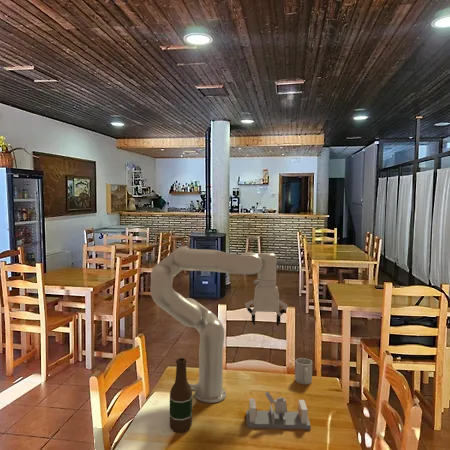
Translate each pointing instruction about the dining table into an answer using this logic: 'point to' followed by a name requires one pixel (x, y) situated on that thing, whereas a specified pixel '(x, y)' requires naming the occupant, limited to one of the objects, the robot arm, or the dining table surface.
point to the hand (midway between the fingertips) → (265, 324)
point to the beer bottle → (181, 400)
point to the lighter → (277, 403)
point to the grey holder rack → (277, 418)
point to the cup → (303, 371)
